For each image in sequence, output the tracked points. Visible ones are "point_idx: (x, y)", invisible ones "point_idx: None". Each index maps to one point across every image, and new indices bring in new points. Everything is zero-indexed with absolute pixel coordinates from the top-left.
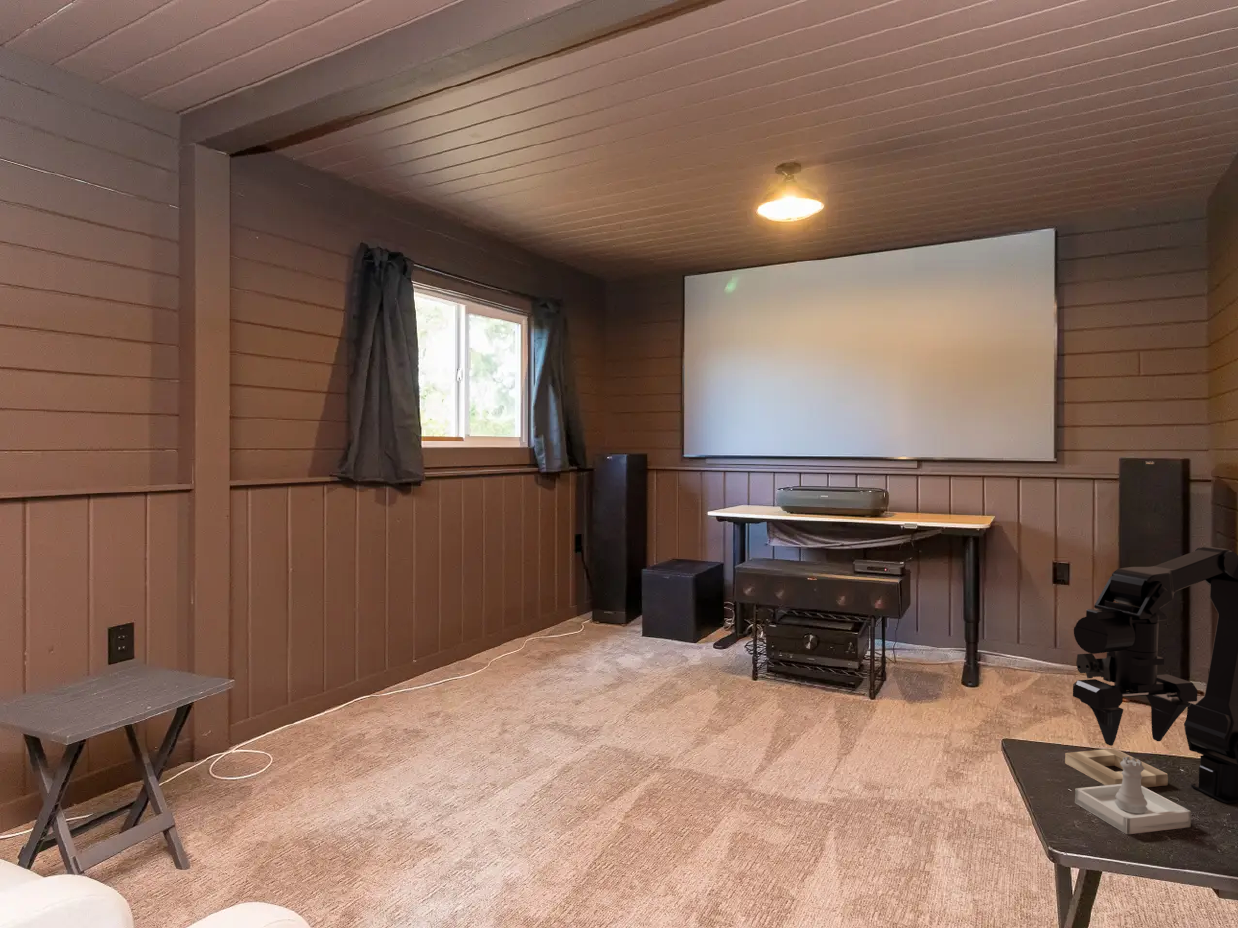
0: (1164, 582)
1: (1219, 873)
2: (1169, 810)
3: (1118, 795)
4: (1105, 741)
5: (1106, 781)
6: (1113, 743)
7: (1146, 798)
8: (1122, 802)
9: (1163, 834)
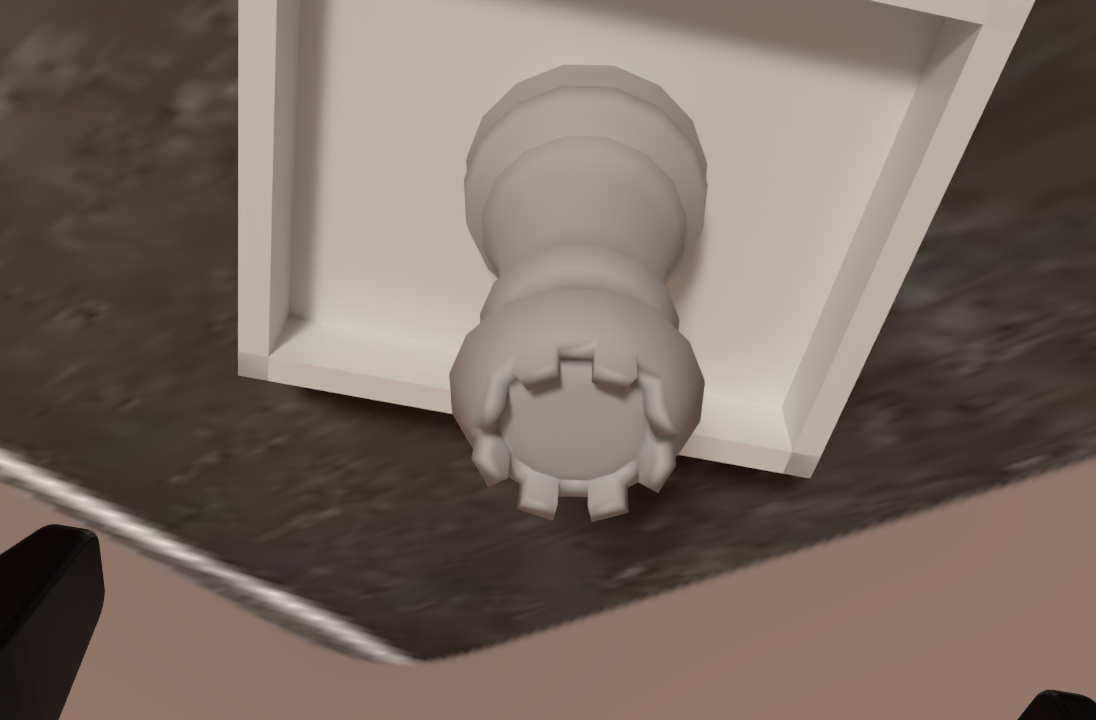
0: None
1: (402, 650)
2: (820, 317)
3: (488, 162)
4: (27, 548)
5: None
6: (84, 646)
7: (903, 122)
8: (465, 201)
9: None
